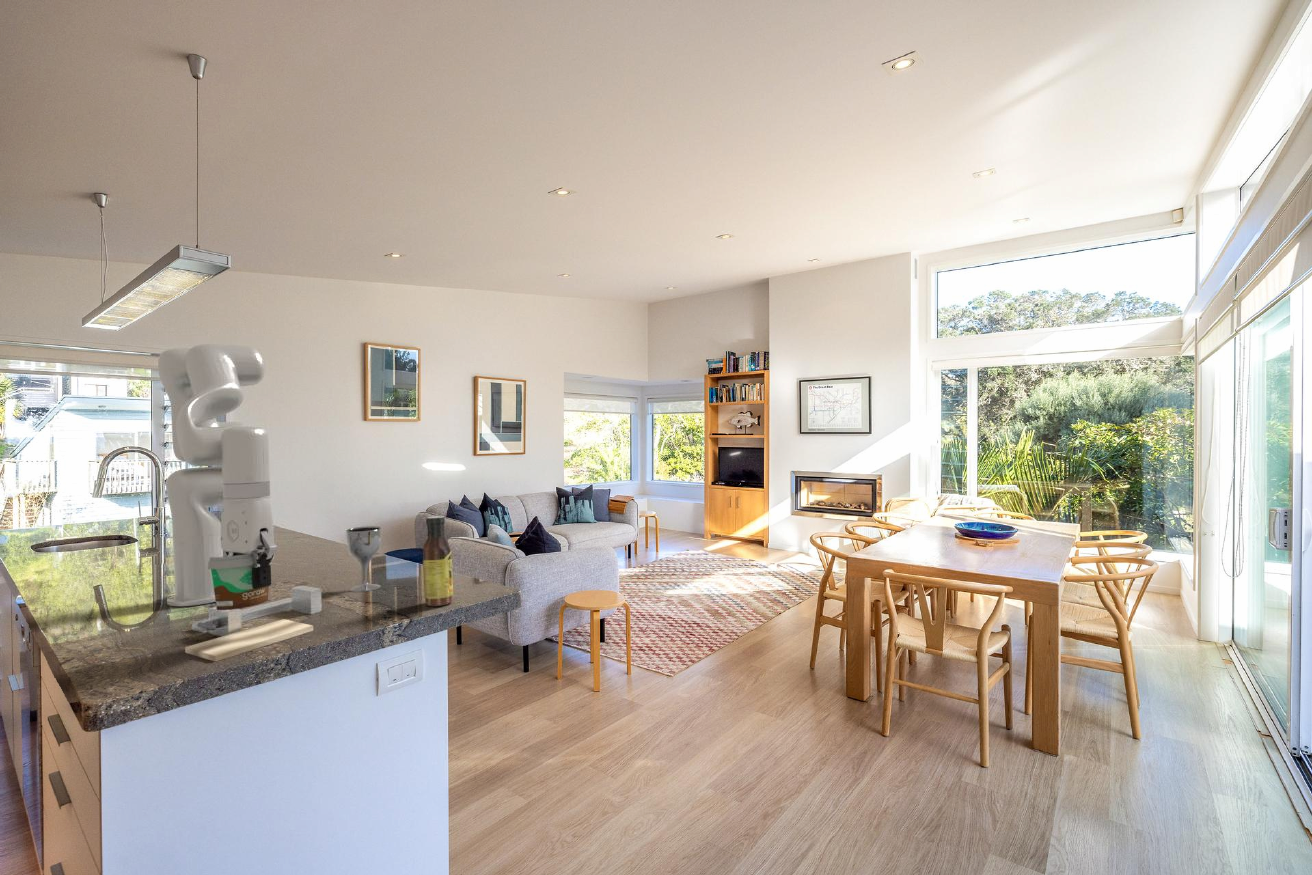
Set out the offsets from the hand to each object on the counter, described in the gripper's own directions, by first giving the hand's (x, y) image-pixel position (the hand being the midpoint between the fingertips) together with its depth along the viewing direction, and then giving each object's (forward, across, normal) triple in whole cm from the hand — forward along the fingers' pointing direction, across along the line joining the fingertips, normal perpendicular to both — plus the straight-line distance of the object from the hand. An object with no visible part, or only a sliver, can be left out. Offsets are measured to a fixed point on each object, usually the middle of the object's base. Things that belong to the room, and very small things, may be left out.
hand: (250, 584), depth 120 cm
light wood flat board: (+11, 0, 0) cm, 11 cm away
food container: (+4, 0, 0) cm, 4 cm away
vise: (+11, -12, +7) cm, 18 cm away
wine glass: (+11, -15, +36) cm, 40 cm away
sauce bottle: (+11, +13, +34) cm, 38 cm away
